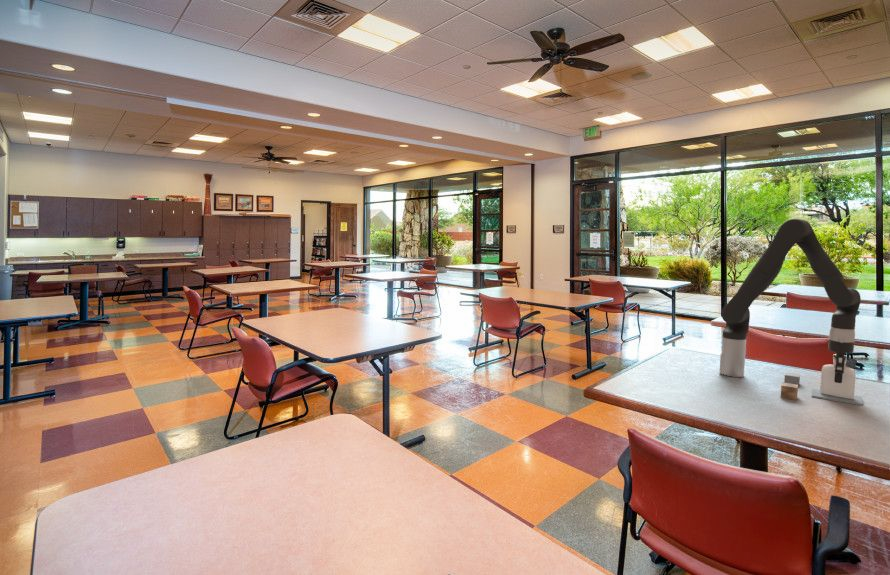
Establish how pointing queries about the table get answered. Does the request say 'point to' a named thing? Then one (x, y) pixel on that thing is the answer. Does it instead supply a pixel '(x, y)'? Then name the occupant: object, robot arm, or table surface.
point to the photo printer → (835, 388)
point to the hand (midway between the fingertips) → (837, 379)
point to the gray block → (792, 378)
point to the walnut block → (789, 391)
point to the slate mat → (837, 398)
